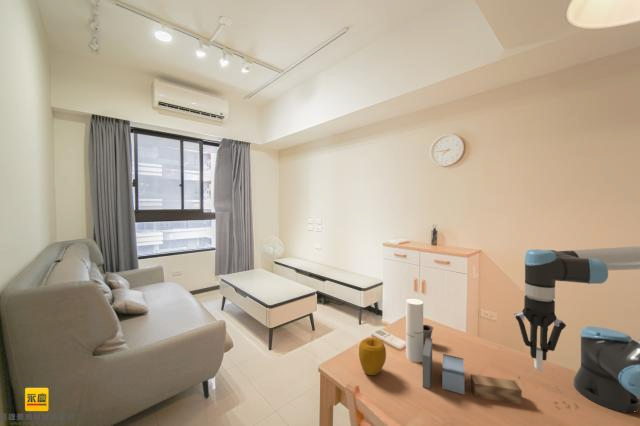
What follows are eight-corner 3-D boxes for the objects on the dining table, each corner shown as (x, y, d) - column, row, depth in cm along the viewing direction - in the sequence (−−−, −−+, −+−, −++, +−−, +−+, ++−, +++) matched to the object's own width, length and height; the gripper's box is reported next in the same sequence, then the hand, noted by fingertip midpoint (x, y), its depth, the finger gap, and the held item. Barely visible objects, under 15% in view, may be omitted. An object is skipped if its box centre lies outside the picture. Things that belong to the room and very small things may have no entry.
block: (463, 377, 97) (463, 358, 97) (464, 394, 88) (464, 373, 88) (443, 372, 101) (443, 353, 100) (442, 388, 92) (442, 368, 92)
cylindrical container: (424, 363, 107) (424, 305, 107) (407, 361, 108) (407, 303, 108) (421, 353, 114) (421, 299, 114) (405, 351, 115) (404, 298, 115)
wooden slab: (514, 394, 89) (514, 380, 89) (521, 405, 84) (521, 390, 84) (470, 387, 93) (470, 374, 93) (474, 397, 88) (474, 383, 88)
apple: (384, 383, 95) (384, 350, 95) (356, 377, 98) (356, 345, 98) (387, 366, 105) (386, 335, 105) (361, 361, 109) (361, 332, 108)
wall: (432, 367, 104) (432, 338, 104) (429, 388, 92) (429, 356, 92) (425, 365, 105) (425, 337, 105) (422, 386, 93) (422, 354, 93)
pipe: (406, 343, 123) (406, 327, 123) (427, 339, 126) (427, 323, 126) (414, 350, 117) (414, 333, 117) (436, 345, 121) (436, 329, 121)
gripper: (561, 296, 83) (559, 367, 83) (512, 290, 89) (511, 356, 89) (570, 304, 76) (569, 381, 76) (517, 297, 82) (516, 368, 82)
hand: (538, 368), depth 83 cm, fingers closed
